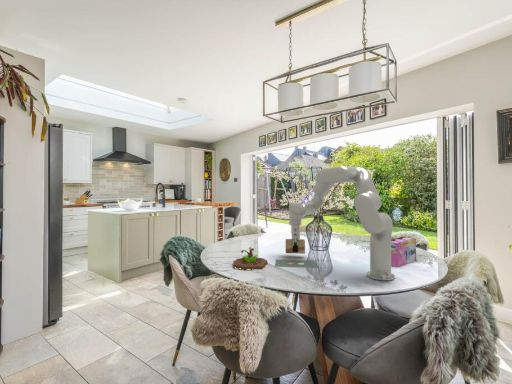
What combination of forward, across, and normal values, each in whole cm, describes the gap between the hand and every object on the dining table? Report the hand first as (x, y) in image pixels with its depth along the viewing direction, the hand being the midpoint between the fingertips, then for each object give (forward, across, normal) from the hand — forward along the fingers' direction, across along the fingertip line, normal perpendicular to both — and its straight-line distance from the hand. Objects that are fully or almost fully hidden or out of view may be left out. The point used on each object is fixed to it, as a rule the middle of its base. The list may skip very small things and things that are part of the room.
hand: (295, 250), depth 173 cm
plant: (+5, -19, +26) cm, 33 cm away
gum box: (+5, -5, -61) cm, 61 cm away
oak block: (+1, 0, 0) cm, 1 cm away
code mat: (+4, -14, 0) cm, 15 cm away
